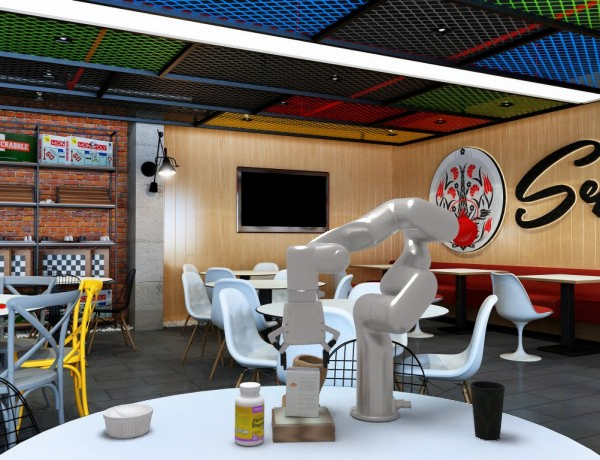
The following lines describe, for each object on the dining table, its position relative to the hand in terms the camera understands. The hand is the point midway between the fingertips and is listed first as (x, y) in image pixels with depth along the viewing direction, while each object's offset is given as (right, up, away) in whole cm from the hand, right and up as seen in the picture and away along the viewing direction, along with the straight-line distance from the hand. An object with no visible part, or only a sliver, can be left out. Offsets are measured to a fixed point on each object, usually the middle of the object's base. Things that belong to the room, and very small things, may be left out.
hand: (305, 368), depth 137 cm
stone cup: (0, -16, +15) cm, 22 cm away
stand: (-1, -15, -1) cm, 15 cm away
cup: (+43, -15, -4) cm, 45 cm away
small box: (-1, -11, 0) cm, 11 cm away
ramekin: (-42, -15, -2) cm, 45 cm away
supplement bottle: (-13, -15, -8) cm, 21 cm away
